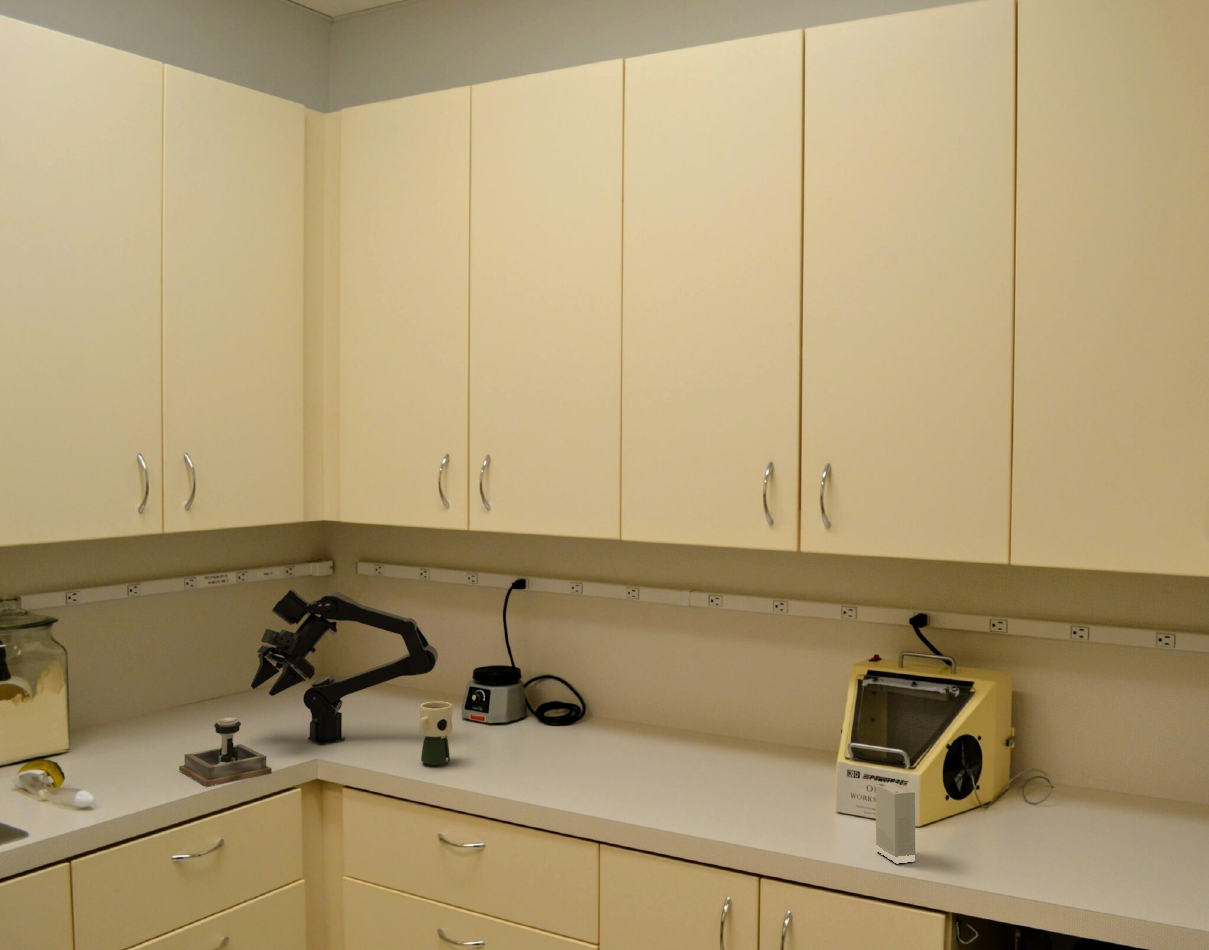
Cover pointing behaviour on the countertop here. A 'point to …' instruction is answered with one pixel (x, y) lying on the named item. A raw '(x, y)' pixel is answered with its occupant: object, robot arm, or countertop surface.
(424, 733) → the character mug
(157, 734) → the countertop surface
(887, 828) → the skincare box
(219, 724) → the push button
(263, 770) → the tray
